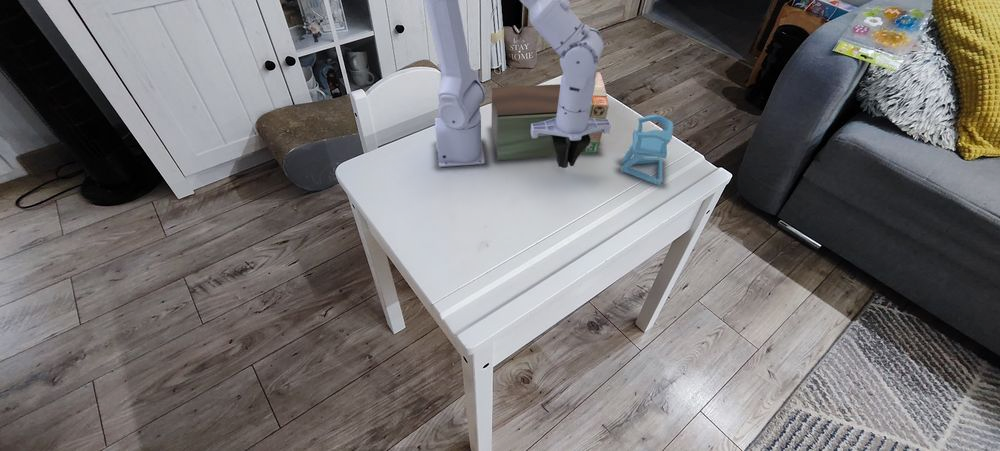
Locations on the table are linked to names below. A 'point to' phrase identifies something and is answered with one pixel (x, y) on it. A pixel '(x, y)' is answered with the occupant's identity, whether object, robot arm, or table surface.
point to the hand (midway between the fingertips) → (564, 163)
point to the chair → (648, 148)
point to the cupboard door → (525, 139)
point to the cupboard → (523, 102)
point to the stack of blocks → (597, 113)
